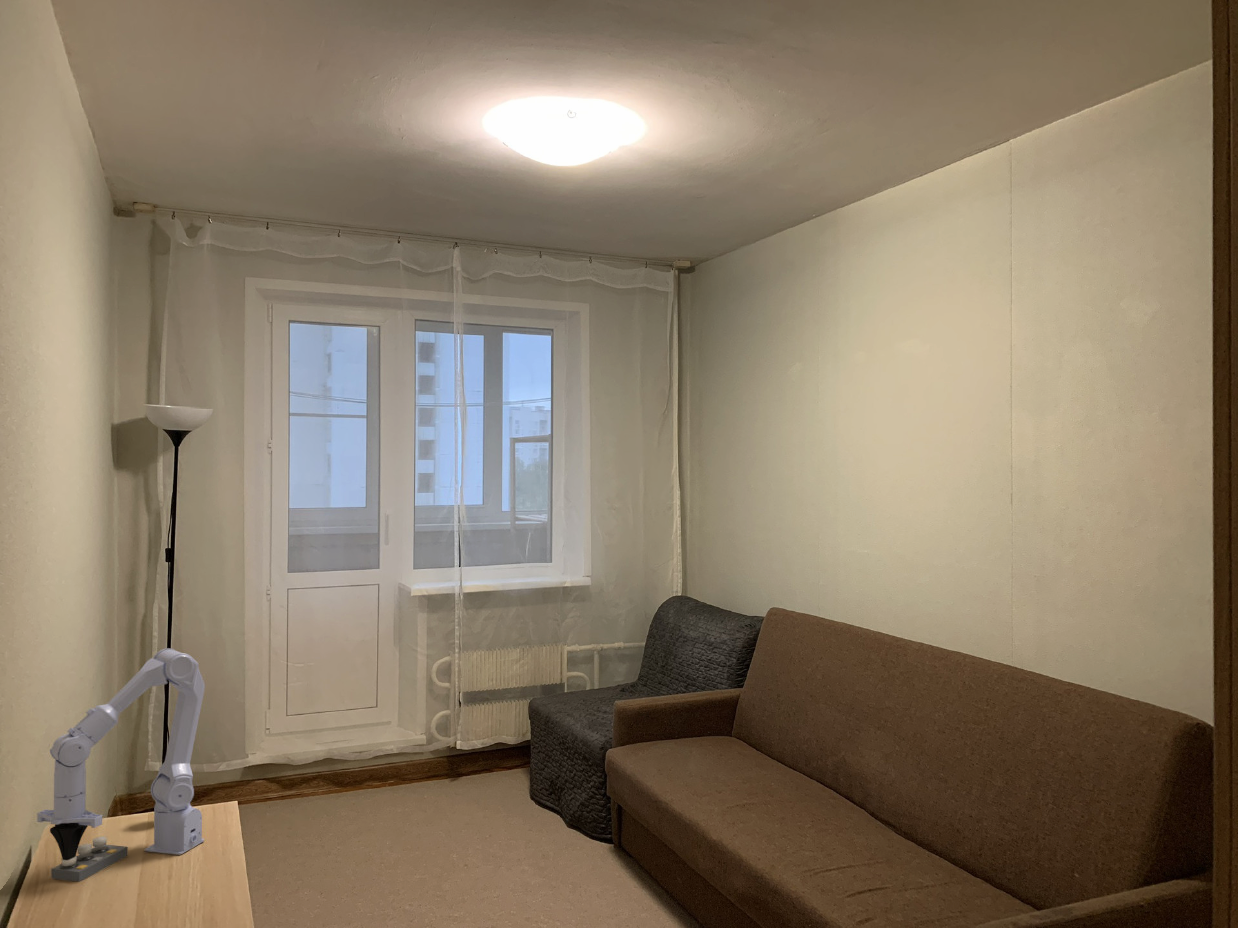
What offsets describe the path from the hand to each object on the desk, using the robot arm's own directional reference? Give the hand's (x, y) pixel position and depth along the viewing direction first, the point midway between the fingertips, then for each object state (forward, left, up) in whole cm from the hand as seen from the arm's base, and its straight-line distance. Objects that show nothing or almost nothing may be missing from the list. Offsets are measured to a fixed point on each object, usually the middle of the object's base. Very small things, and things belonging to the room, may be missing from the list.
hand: (69, 858), depth 185 cm
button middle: (0, -4, 0) cm, 4 cm away
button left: (0, 0, -1) cm, 1 cm away
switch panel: (-1, -5, -4) cm, 6 cm away
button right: (0, -8, 0) cm, 8 cm away
